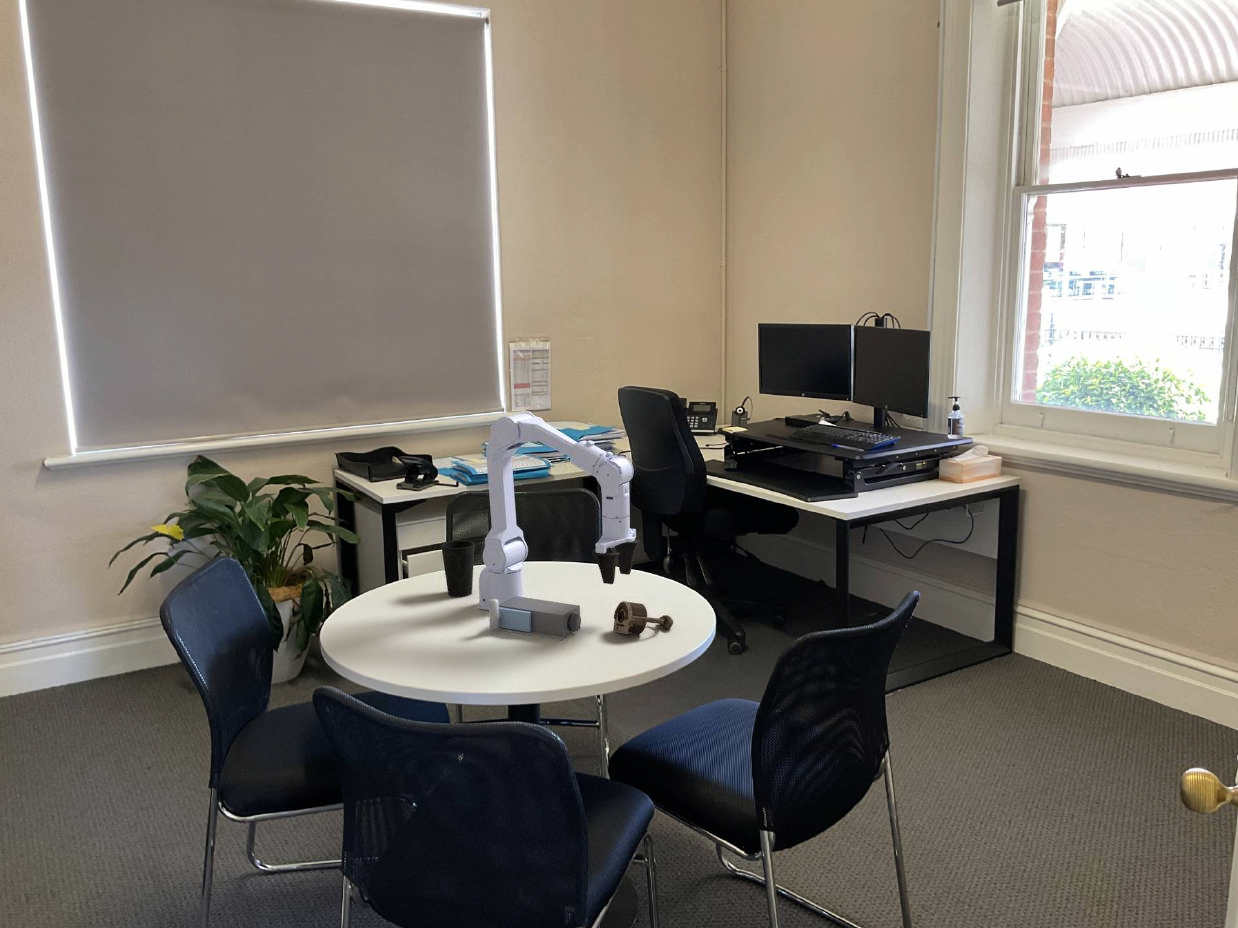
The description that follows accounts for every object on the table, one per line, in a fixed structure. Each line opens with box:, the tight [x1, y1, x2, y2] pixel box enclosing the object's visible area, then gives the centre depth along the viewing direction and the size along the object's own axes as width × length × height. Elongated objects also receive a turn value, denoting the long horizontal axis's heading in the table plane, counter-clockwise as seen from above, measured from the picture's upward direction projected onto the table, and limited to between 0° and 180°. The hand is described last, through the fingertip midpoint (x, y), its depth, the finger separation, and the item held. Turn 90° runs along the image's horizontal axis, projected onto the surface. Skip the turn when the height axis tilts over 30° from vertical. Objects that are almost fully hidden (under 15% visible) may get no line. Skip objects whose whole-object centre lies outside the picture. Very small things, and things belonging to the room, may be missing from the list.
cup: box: [440, 539, 475, 598], centre depth 232 cm, size 8×8×12 cm
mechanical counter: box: [612, 600, 674, 635], centre depth 204 cm, size 7×13×10 cm
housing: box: [494, 596, 582, 641], centre depth 207 cm, size 17×8×5 cm, turn 63°
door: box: [488, 599, 531, 632], centre depth 204 cm, size 9×3×6 cm, turn 63°
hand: (616, 578), depth 208 cm, fingers open, 7 cm apart
